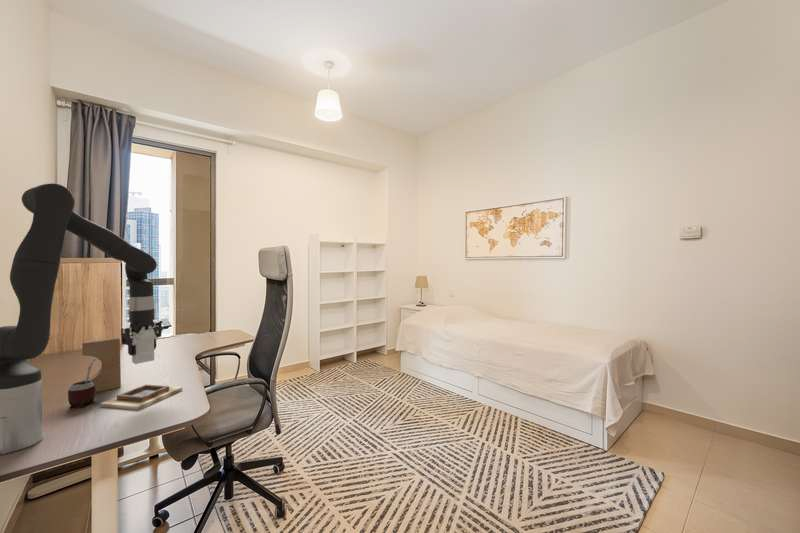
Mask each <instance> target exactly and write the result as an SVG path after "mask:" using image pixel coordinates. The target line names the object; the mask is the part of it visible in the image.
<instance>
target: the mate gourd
mask: <svg viewBox="0 0 800 533" xmlns="http://www.w3.org/2000/svg"><path fill="white" fill-rule="evenodd" d="M95 361H96V359H95V358H94V359H93V360H92V361H91V362H90V364H89V366H88V368H87V374H86V378H85V379H86V381H83V380H82V381H78V382H74V383H73V384H71V385H70V386H69V388H68V391H67V400H68V403H69V405H70V406H69V409H75V408H79V406H80V409H84V408H85V406H87V405H91V404H95V401H94V400H95V397H96V393H95V385H94V383H93V382H92V381H88V378H89V376H90V372H91V370H92V366H93V365H94V362H95Z"/></svg>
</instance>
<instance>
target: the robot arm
mask: <svg viewBox="0 0 800 533" xmlns="http://www.w3.org/2000/svg"><path fill="white" fill-rule="evenodd" d="M75 202H76V201H75V197H74V195H73V193H72V192H71V190H70V189H69V188H67V187H66V186H64V185H62V184H60V183H59V184H58V183H44V184H40V185H37V186H35V187H31V188H29V189H27V190H25V191H24V192H23V194H22V196H21V203H22V205H23V206H24V208H25V209H26V210H28V211H29V212H30V213H32V216H33V217H32V221H31V225H30V228H29V229H28V230H27V233H26V235H25V236H24V238H23V239H22V240H21V242H20V244H19V246H18V247H17V249H16V252H15V254H14V256H13V258H12V264H11V268H10V272H9V280H10V282H9V283H10V285H11V287H12V289H13V292H14V294H15V296H16V297H17V300H18V303H19V315H18V321H17V323H16V325H4V326H0V455H2V454H4V455H6V453H7V454H9V453H12V452H15V451H16V452H17V451H19V450H24V449H27V448H29V447H31V446H33V445H36V444H37V443H39V442H41V441H42V439H43V437H44V436H43V434H44V433H43V432H44V431H43V430H44V428H43V399H42V398H43V395H42V394H43V393H42V392H43V391H42V386H43V385H42V371H41V369H40V368H38V367H36V366H34V365H32V364H31V363H29V360H32V359H35V358H37V357H39V356H40V355H42V354H43V352H45V350H46V349H47V347H48V344H49V341H50V336H51V335H50V334H51V316H52V307H53V300H54V294H55V293H54V292H55V287H56V284H57V278H58V275H59V270H60V265H61V258H62V252H63V248H64V247H63V246H64V242H65V241H64V240H65V234H66V231H68V232H69V233H71V234H74V235H76V236H77V237H79V238H81V239H82V240H84V241H85V242H87V243H89V244H90V245H92V246H93V247H95V248H96V249H98V250H99V251H101V252H102V253H104V254H106V255H107V256H109V257H111V259H114V260H117V261H121V262H123V263H124V270H125V275H126V280H127V281H128V285H129V299H128V321H129V324H130V325H129V326H128V327H121V328H120V337H121V338H120V343H121V345H124V346H127V353H128V355H129V356H131V357H132V356H134V355H136V345H135V344H136V342H137V340H138V339H139V338H140V336H141V334H142V332H143V331H144V330H146V329H154V351H155V350H156V348H157V340H158V338H161V337H162V324H163V323H162V321H154V320H155V317H156V316H155V314H156V313H155V311H156V310H155V298H154V284H153V282H152V281H151V280H149V276H148V274H151V273H154V272H155V270H156V269H157V266H158V264H157V260H156V259H155V258H154V257H153V256H152V255H151V254H149V253H147V252H146V251H144V250H142V249H140V248H139V247H136V246H134V245H132V244H130V243H129V242H128V241H126V240H125V239H123V237H121V236H119V235H118V234H116V233H115V232H114V231H112V230H110V229H108V228H107V227H104V226H102V225H99V224H98V223H95V222H93V221H91V220H88V219H87V218H85V217H84V216H81V215H80V214H78V213H77V212H76V211H74V208H75ZM133 331H134V332H135V333H137V335H136V336H132V335H133Z"/></svg>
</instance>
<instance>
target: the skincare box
mask: <svg viewBox="0 0 800 533" xmlns="http://www.w3.org/2000/svg"><path fill="white" fill-rule="evenodd" d="M136 335H137V333H135V332H134V331H133V335H132V336H136ZM135 345H136V355H134V356H131V361H132V364H134V365H138V364H143V363H147V362H152V361H155V350H154V328H152V329H146V330H144V331H143V332H142V334H141V336H140V338H139V339H138V340H137V342H136V344H135Z"/></svg>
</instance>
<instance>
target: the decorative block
mask: <svg viewBox="0 0 800 533" xmlns="http://www.w3.org/2000/svg"><path fill="white" fill-rule="evenodd" d="M81 345H82V346H81V347H82V349H81V350H82V352H81V353H82V355H83V356H84V357H93V358H96V359H98V360H99V361H100V362H101V367H100V369H99V370H98V371H97V372H96V373H94V374H93V375H92V376H90V377H89V378H88V381H92V382H93V383H94V385H95V394H96V393H99V392H100V393H101V392H105V391H110V390H114V389H119V388H121V387H122V376H121V374H122V373H121V372H122V370H121V338H120V337H118V336H114V337H113V336H112V337H106V338H100V339H99V338H97V339H91V340H83V341H82V342H81ZM82 381H86V378H84V379H83V380H82Z"/></svg>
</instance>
